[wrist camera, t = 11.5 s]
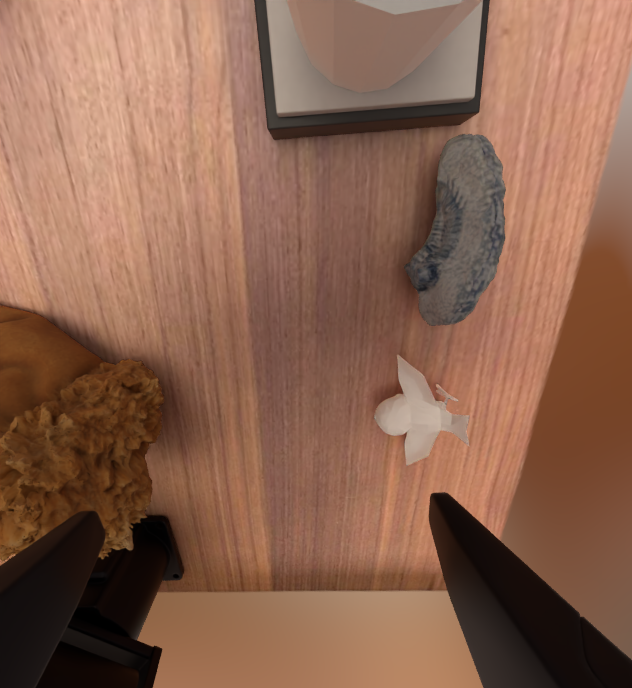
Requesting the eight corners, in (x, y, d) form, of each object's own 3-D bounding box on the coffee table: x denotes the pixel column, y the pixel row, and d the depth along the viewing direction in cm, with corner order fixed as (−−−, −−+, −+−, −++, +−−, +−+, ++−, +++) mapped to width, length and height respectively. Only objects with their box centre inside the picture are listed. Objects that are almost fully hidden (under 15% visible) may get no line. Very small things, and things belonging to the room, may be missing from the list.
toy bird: (358, 354, 19) (406, 387, 15) (424, 333, 21) (485, 358, 16) (372, 462, 22) (415, 515, 18) (429, 438, 23) (482, 482, 19)
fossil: (412, 145, 16) (450, 115, 11) (483, 148, 16) (550, 120, 11) (390, 310, 19) (414, 340, 14) (450, 312, 19) (493, 344, 14)
